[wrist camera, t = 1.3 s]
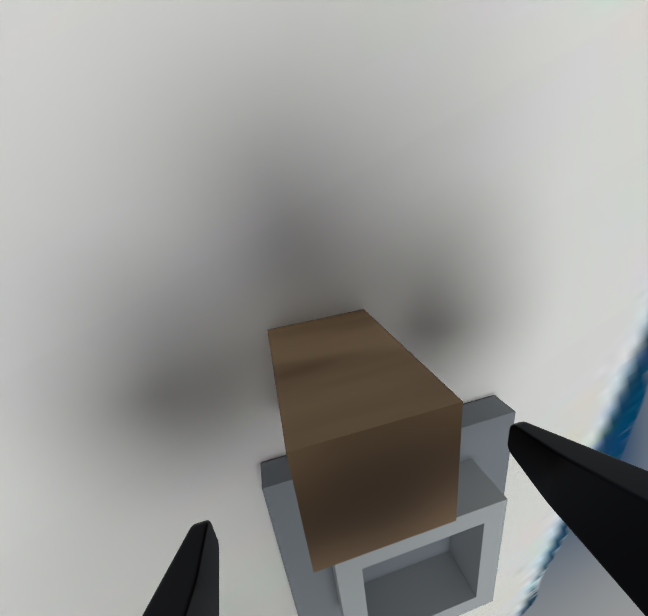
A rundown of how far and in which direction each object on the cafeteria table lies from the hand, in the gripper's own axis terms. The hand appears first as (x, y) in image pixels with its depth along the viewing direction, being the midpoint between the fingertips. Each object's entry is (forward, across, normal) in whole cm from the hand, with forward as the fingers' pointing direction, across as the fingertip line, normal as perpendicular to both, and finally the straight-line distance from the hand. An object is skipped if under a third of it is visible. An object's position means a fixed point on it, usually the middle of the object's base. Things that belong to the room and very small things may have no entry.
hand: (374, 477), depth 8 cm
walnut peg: (+6, 0, 0) cm, 7 cm away
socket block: (+6, -3, +12) cm, 14 cm away
